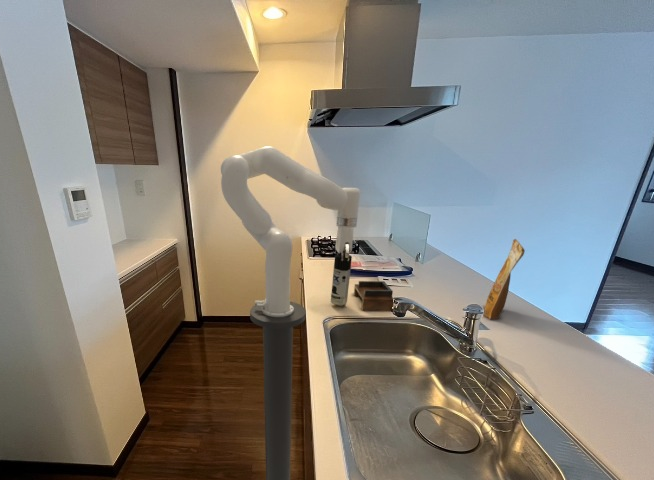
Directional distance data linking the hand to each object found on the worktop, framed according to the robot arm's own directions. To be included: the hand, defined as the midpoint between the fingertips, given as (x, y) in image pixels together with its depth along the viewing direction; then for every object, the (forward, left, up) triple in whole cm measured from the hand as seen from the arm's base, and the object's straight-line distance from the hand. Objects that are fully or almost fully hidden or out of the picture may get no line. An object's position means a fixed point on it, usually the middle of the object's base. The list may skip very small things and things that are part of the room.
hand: (342, 267), depth 127 cm
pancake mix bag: (+60, -6, -17) cm, 62 cm away
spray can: (0, 0, -15) cm, 15 cm away
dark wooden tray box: (+15, +4, -16) cm, 22 cm away
